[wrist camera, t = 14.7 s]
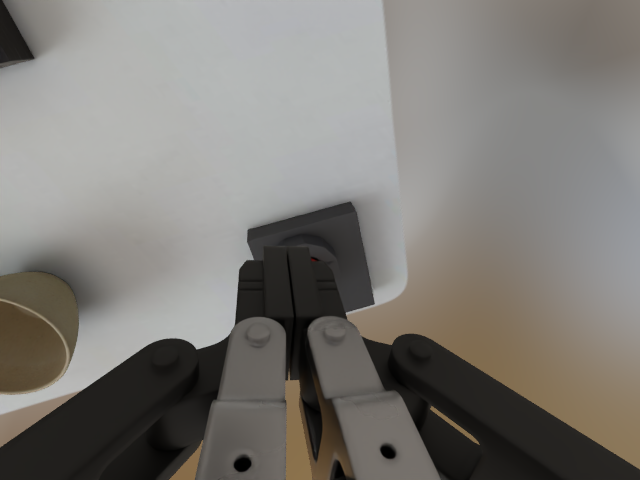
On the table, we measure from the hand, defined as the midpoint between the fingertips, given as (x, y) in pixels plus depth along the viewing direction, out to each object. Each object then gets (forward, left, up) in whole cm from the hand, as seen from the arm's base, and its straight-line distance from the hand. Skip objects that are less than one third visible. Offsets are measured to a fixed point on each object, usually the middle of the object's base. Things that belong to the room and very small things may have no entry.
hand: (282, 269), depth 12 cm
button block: (+12, +5, -21) cm, 25 cm away
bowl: (+16, -20, -21) cm, 33 cm away
